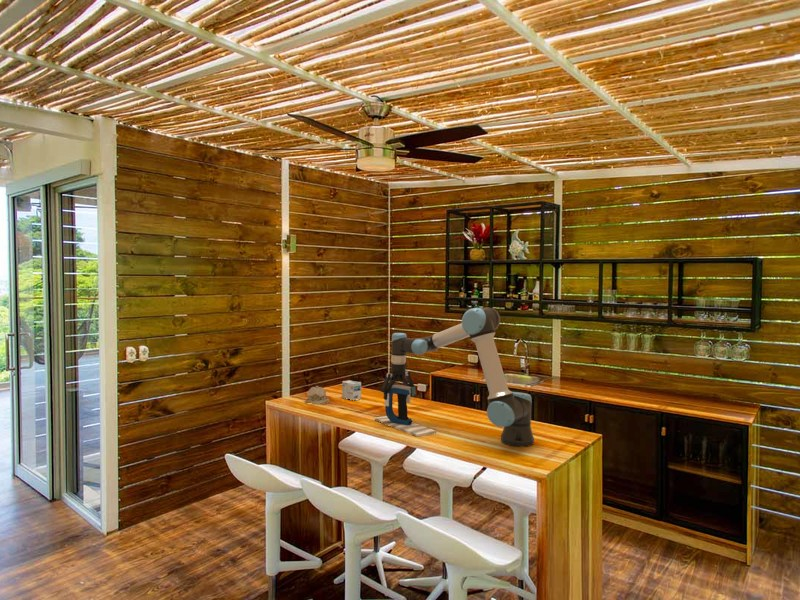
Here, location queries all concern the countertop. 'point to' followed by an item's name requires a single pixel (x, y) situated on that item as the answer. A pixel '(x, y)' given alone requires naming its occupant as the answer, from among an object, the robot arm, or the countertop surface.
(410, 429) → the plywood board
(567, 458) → the countertop surface
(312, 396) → the ceramic model
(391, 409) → the handheld scanner
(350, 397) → the light bulb box
